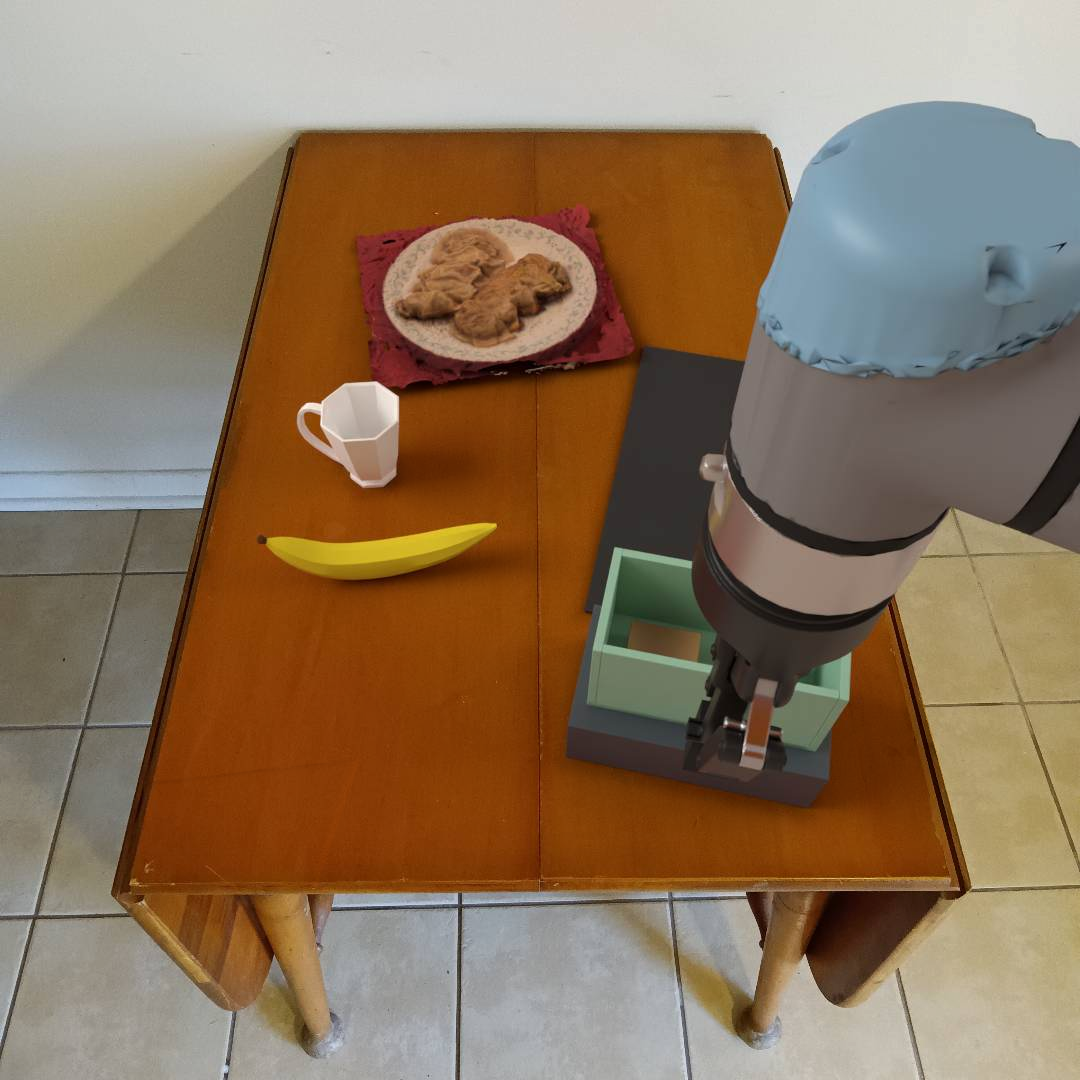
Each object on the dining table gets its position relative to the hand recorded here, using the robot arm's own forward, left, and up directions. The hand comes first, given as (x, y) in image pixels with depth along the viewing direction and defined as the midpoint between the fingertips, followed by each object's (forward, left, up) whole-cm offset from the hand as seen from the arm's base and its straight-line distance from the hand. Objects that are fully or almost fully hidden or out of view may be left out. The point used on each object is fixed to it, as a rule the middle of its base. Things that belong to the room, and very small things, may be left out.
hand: (706, 762), depth 55 cm
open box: (0, -10, -10) cm, 14 cm away
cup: (+33, -27, -16) cm, 46 cm away
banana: (+27, -17, -16) cm, 36 cm away
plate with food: (+27, -51, -16) cm, 60 cm away
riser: (0, -9, -16) cm, 18 cm away
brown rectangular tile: (+3, -10, -9) cm, 14 cm away
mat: (+3, -32, -16) cm, 36 cm away
